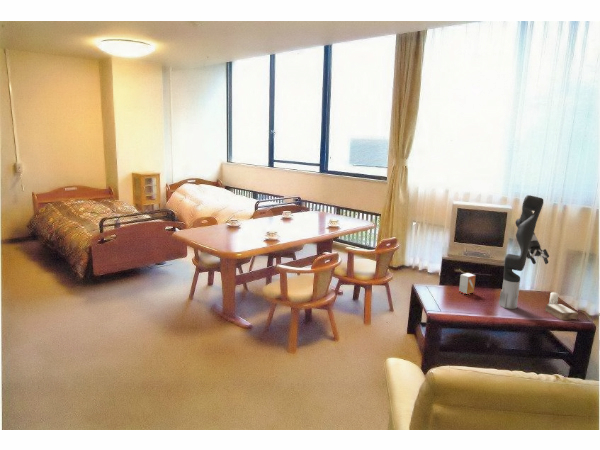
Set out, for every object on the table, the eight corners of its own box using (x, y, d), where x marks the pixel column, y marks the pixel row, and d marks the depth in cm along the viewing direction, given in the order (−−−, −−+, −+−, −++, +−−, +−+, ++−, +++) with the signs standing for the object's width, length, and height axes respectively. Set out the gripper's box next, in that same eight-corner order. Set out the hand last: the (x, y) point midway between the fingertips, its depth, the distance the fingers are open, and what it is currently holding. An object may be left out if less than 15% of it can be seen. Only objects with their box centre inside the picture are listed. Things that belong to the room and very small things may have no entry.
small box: (466, 295, 286) (468, 276, 284) (458, 292, 292) (460, 274, 289) (474, 293, 291) (475, 275, 288) (465, 290, 296) (467, 272, 293)
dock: (561, 319, 249) (562, 313, 248) (545, 310, 263) (546, 304, 262) (577, 319, 250) (578, 312, 249) (560, 310, 264) (561, 303, 263)
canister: (552, 306, 269) (553, 294, 268) (547, 304, 274) (548, 292, 272) (558, 306, 270) (560, 294, 268) (553, 304, 274) (555, 292, 273)
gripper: (525, 239, 288) (533, 261, 280) (545, 239, 290) (554, 260, 281) (519, 245, 295) (527, 266, 286) (539, 245, 296) (547, 266, 287)
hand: (540, 263), depth 283 cm, fingers open, 8 cm apart
